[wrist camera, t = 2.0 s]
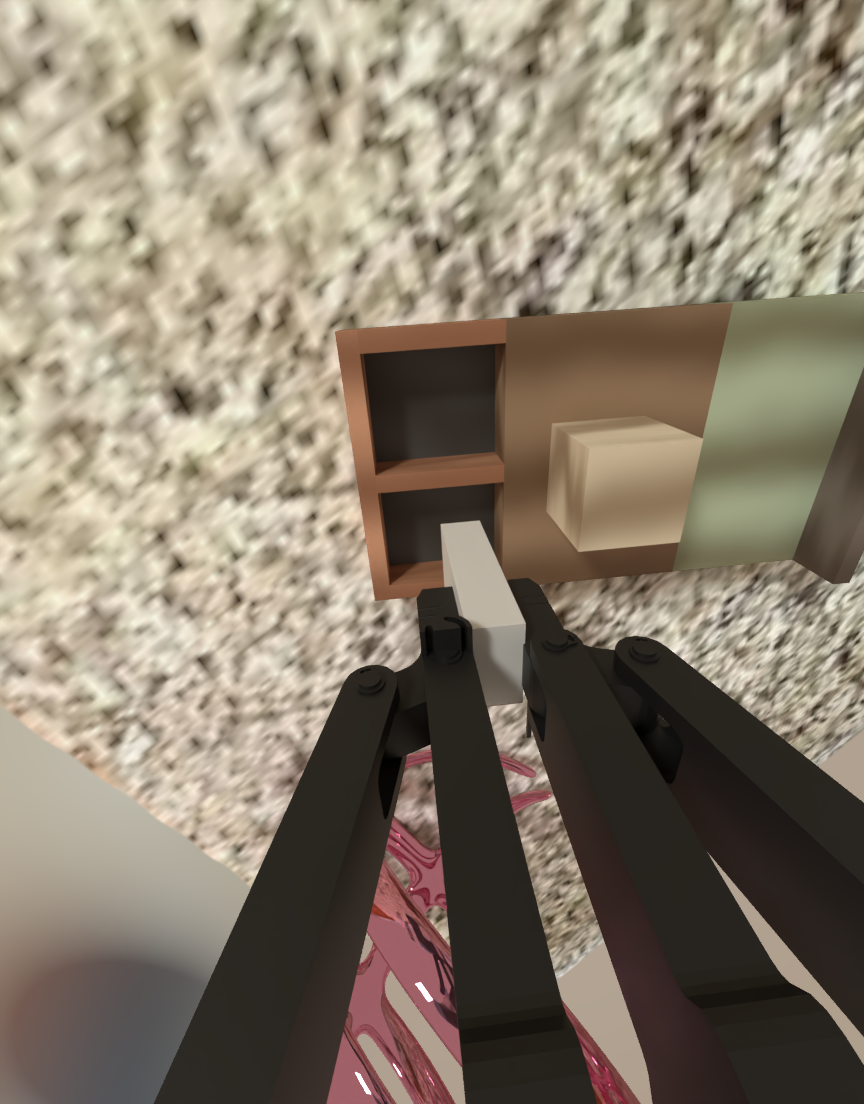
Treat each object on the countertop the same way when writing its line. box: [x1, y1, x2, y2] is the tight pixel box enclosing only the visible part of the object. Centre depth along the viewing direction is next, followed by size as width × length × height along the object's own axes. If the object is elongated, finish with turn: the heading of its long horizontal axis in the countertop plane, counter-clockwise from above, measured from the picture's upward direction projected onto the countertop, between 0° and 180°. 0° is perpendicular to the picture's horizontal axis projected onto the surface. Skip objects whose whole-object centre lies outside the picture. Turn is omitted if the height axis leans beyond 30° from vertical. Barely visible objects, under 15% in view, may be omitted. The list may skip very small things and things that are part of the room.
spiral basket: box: [327, 750, 640, 1104], centre depth 31 cm, size 28×28×27 cm
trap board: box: [335, 292, 864, 601], centre depth 25 cm, size 15×28×6 cm, turn 94°
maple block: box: [546, 416, 703, 552], centre depth 22 cm, size 5×5×5 cm
